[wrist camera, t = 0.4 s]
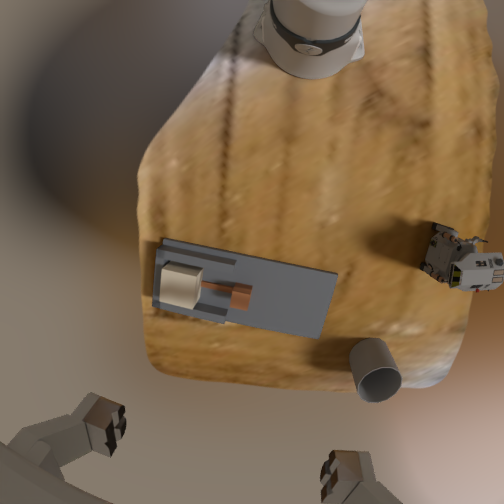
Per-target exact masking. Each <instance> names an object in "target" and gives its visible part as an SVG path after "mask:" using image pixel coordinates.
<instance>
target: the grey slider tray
mask: <svg viewBox="0 0 504 504" xmlns="http://www.w3.org/2000/svg"><path fill="white" fill-rule="evenodd" d="M170 261H175V262H179V263H184V264H188V265H193V266H198V267H202V268H204V270H203V277H202V280H204V281H208V282H213V283H217V284H222V285H226V286H231V287H234V286H235V283H236V282H237V283H242V284H247V285H252V286H253V288H252V293H251V298H250V302H249V306H248V310H247V311H245V310H241V309H236V308H231V307H230V302H231V296H232V293H227V292H223V291H218V290H214V289H209V288H205V287H201V292H200V298H199V300H198V301H197V303H196V305H195V306H194V308H193V309H188V308H184V307H180V306H176V305H172V304H168V303H164V302H160V301H159V298H160V285H161V273H162V268H163V267H165V266H166V265H167V264H168V263H169V262H170ZM337 278H338V274H337V273H334V272H329V271H324V270H319V269H314V268H309V267H304V266H300V265H295V264H290V263H285V262H280V261H275V260H270V259H265V258H261V257H256V256H251V255H246V254H241V253H236V252H232V251H227V250H222V249H217V248H212V247H207V246H203V245H198V244H193V243H188V242H183V241H179V240H174V239H169V238H164V239H163V245H161V246H160V247H158V248H157V250H156V261H155V273H154V286H153V302H152V306H153V307H157V308H160V309H164V310H168V311H172V312H176V313H180V314H184V315H188V316H192V317H196V318H200V319H204V320H209V321H213V322H217V323H222V324H224V323H225V321H228V322H233V323H238V324H242V325H247V326H252V327H256V328H261V329H266V330H271V331H276V332H282V333H287V334H292V335H298V336H303V337H309V338H314V339H319V337H320V334H321V331H322V328H323V325H324V321H325V318H326V315H327V312H328V308H329V305H330V302H331V298H332V295H333V292H334V288H335V285H336V281H337Z"/></svg>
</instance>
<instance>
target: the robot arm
mask: <svg viewBox="0 0 504 504" xmlns="http://www.w3.org/2000/svg"><path fill="white" fill-rule="evenodd" d="M366 2H367V0H269V1H268V3H267V4H265V6H264V11H263V13H262V15H261V17H260V19H259V21H258V23H257V25H256V28H255V30H254V37H255V39H256V40H258V41H259V42H260V43H261V44H263V45H264V46H265V47H266V49H267V50H268V52H269V54H270V56H271V58H272V59H273V61H274V62H275V63H276V64H277V65H278V66H279V67H280V68H281V69H283V70H284V71H286V72H287V73H289V74H291V75H294V76H297V77H300V78H305V79H321V78H326V77H329V76H331V75H334V74H335V73H337V72H339V71H340V70H341V69H342V68H343V67H344V66H346V65H347V64H348V63H351V62H355V61H358V60H360V59H362V58H363V56H364V43H363V33H362V25H361V12H362V10H363V8H364V6H365V4H366ZM261 28H262V29H261ZM358 47H359V48H358ZM124 413H125V406H124V405H121V404H119V403H116V402H114V401H111V400H109V399H106V398H104V397H102V396H99V395H97V394H94V393H92V392H90V393H88V394H87V396H86V397H85V398H84V399H83V400H82V402H81V403H80V404H79V405H78V407H77V408H76V409H75V411H74V412H73V413H72V414H71V415H68V414H67V415H64V416H61V417H57V418H54V419H51V420H48V421H45V422H41V423H38V424H34V425H31V426H28V427H24V428H22V429H21V430H20V431H19V432H18V433H17V435H16V436H15V437H14V438H13V439H12V440H11V441H10V443H9V444H8V445H7V446H6V445H5V444H3V443H2V442H0V504H113V503H110V502H108V501H106V500H103V499H101V498H98V497H96V496H94V495H92V494H90V493H87V492H85V491H83V490H81V489H79V488H77V487H75V486H73V485H71V484H69V483H67V482H65V479H64V476H63V474H62V472H61V470H60V467H62V466H63V465H66V464H68V463H70V462H72V461H74V460H76V459H77V458H80V457H82V456H83V455H85V454H87V453H89V452H91V451H92V450H93V451H95V452H98V453H100V454H103V455H105V456H108V457H111V456H112V454H113V453H114V451H115V449H116V448H117V443H116V441H118V440H120V439H122V437H123V435H124V433H125V430H126V418H125V417H124V416H123V415H124ZM320 482H321V483H322V484H323V486H324V487H323V488H322V490H321V503H323V504H403V503H401V502H400V501H399V500H398V499H397V498H396V497H395V496H394V495H393V494H392V493H391V492H390V491H389V490H387V488H386V487H384V486H383V485H382V484H381V483H380V482H376V478H375V474H374V469H373V465H372V460H371V456H370V453H369V452H365V451H344V450H332V451H331V452H330V454H329V460H327V461H325V462H324V464H323V466H322V469H321V474H320Z"/></svg>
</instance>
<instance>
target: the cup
mask: <svg viewBox="0 0 504 504" xmlns="http://www.w3.org/2000/svg"><path fill="white" fill-rule="evenodd" d="M349 363H350V367H351V370H352V374H353V378H354V382H355V386H356V389H357V393H358V395H359V396H360V398H361V399H362V400H364V401H366V402H368V403H379V402H382V401H385V400H388V399H389V398H390V397H392V396H393V395H395V394H396V392H397V391H398V390H399V389H400V387H401V384H402V376H401V374H400V372H399V369H398V367H397V365H396V363H395V361H394V359H393V357H392V355H391V353H390V351H389V349H388V347H387V345H386V343H385V342H384V341H382V340H381V339H379V338H368V339H365V340H362V341H360V342H359V343H358V344H356V345H355V346H354V347H353V349H352V350H351V352H350V354H349Z"/></svg>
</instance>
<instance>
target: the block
mask: <svg viewBox="0 0 504 504" xmlns="http://www.w3.org/2000/svg"><path fill="white" fill-rule="evenodd" d="M203 270H204V268H202V267H198V266H193V265H188V264H184V263H179V262H175V261H170V262H169V263H168V264H167V265H166V266H165V267H163V268H162V273H161V285H160V298H159V301H160V302H164V303H168V304H172V305H176V306H180V307H184V308H188V309H193V308H194V306H195V305H196V303H197V301H198V300H199V298H200V292H201V287H205V288H209V289H214V290H218V291H223V292H227V293H232V296H231V302H230V307H231V308H236V309H241V310H245V311H247V310H248V306H249V302H250V298H251V293H252V288H253V286H252V285H247V284H242V283H237V282H236V283H235V286H234V287H231V286H226V285H222V284H217V283H213V282H208V281H204V280H202V277H203Z"/></svg>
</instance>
